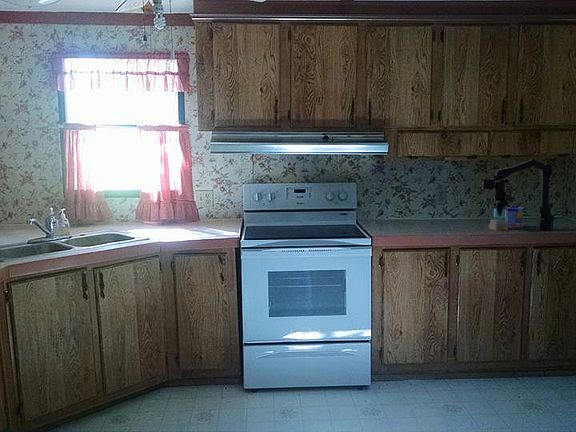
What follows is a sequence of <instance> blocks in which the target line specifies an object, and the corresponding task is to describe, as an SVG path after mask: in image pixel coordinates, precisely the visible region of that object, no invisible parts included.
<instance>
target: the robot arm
mask: <svg viewBox="0 0 576 432" xmlns="http://www.w3.org/2000/svg"><path fill="white" fill-rule="evenodd" d="M531 167H532V168H535V169H537V170H538V172H539V176H540V198H539V199H540V201H539V204H536V210H535V211H536V212H537V215H538V216H539V217H540V222H539V227H538V230H541V231H545V232H546V231H548V232H549V231H555V229H554V220H555V218H556V217H555V215H553V214H552V211H551V207H550V204H549V203H550V202H549V201H550V199H549V198H550V197H549V196H550V180H551V177H552V175H553V166H552V165H551V164H549V163H543V162H540V161H538V160H536V159H528V160H526V161H523V162H522V163H518V164H515V165H512V166H510V167H504V168H503V167H502V168H499V169H496V170H495V171H494V172H495V173H494V175H493V176H492V177H491V178H483V179H482V183H481V190H482V191H492V190H494V191H493V193H494V197H492V198H491V199H490V202H491V203H492V206H493V209H494V208H496V209H497V212H498V215H499V216H501V214H502V211H503V209H504V208H505V207H508V206H509V202H511V203H514V201H515V200H516V197H515V196H513V195H512V194H511V193H510V192H509V193H507V191H506V183H508V184H509V183H510V181H509V180H508V177H509V176H511V175H513V174H515V173H517V172H520V171H522V170H525V169H529V168H531Z"/></svg>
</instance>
